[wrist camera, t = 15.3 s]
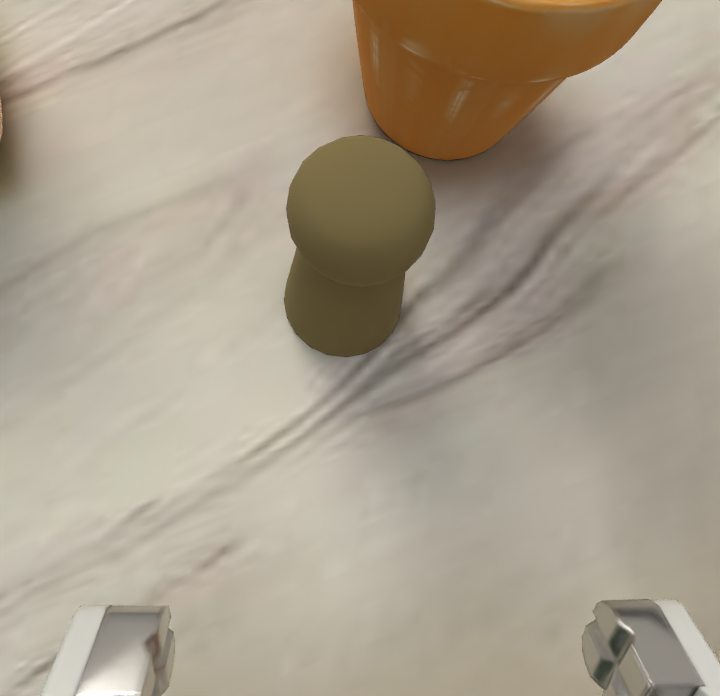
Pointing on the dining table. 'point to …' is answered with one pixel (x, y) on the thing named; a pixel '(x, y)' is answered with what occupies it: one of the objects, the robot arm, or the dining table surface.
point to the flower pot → (478, 63)
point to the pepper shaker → (354, 242)
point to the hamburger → (0, 120)
